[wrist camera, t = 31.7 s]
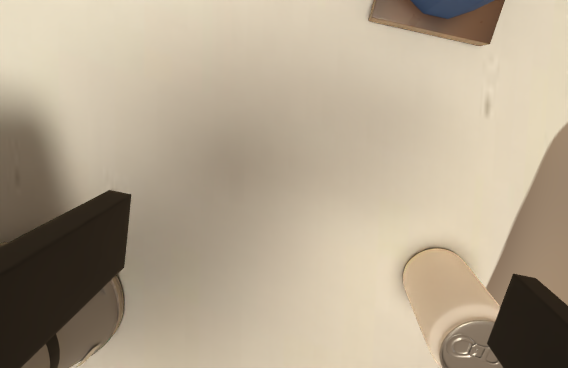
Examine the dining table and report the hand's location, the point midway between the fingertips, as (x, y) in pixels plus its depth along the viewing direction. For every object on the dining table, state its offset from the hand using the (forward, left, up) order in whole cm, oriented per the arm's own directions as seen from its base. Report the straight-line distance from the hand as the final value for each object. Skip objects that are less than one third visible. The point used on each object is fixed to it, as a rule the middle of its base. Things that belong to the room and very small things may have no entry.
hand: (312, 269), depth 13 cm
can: (+15, -10, -26) cm, 31 cm away
